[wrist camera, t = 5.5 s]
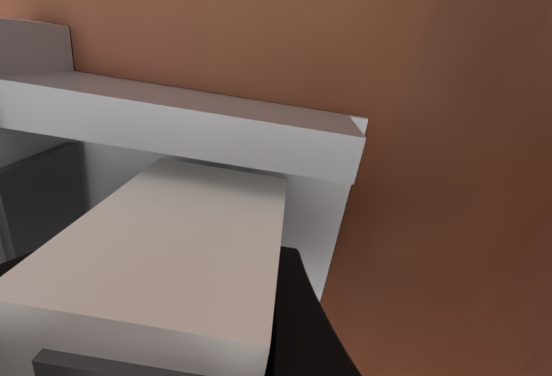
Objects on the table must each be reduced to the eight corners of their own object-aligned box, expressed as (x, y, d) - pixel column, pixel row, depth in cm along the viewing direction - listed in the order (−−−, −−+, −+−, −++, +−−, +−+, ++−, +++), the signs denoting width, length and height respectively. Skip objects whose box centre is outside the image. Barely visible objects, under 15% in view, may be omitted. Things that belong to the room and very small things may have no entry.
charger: (287, 178, 10) (268, 359, 4) (269, 280, 11) (238, 512, 6) (160, 158, 10) (-41, 307, 4) (160, 262, 11) (18, 474, 6)
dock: (377, 75, 9) (426, 89, 6) (306, 347, 14) (308, 448, 11) (30, 20, 10) (-136, 0, 6) (76, 309, 14) (0, 397, 11)
